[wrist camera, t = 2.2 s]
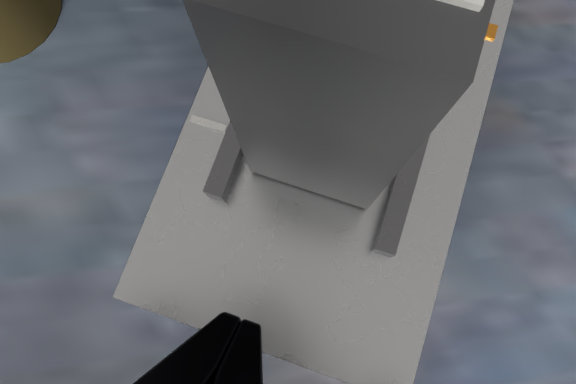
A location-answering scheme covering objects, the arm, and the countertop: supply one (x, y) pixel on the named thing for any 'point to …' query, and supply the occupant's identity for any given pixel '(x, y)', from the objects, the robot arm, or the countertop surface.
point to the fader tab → (338, 82)
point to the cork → (25, 25)
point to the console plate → (308, 242)
